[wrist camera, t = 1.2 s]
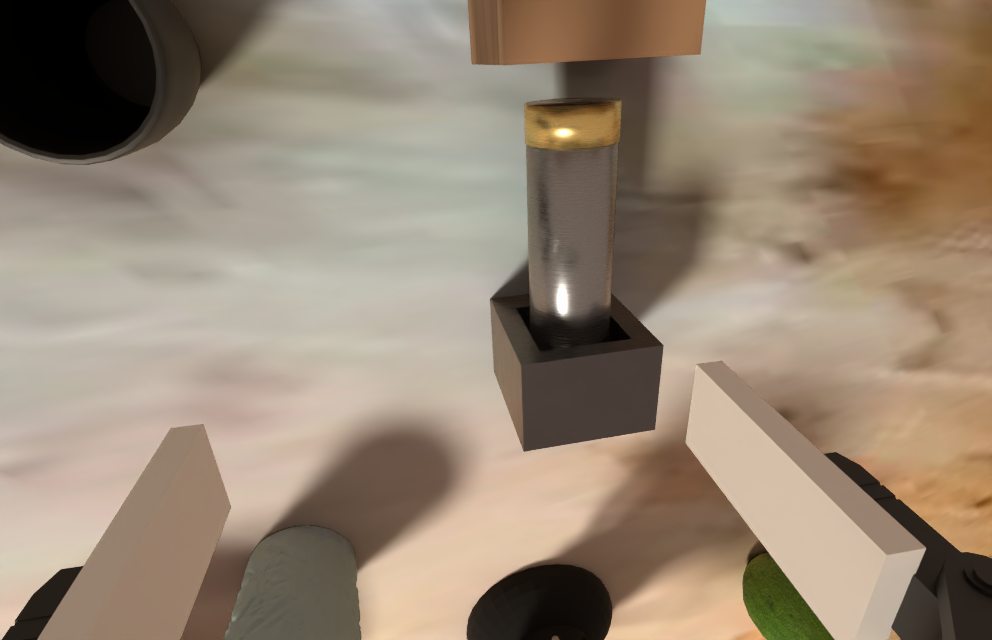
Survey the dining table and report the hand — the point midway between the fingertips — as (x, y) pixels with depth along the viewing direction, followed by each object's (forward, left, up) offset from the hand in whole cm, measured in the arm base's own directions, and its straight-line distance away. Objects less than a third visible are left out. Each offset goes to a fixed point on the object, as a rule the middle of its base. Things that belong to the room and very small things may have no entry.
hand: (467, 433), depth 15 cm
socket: (+9, +11, -23) cm, 27 cm away
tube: (+9, -3, -20) cm, 22 cm away
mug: (-12, +12, -23) cm, 28 cm away
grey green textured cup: (-12, -28, -23) cm, 38 cm away
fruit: (+32, -40, -23) cm, 56 cm away
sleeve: (+9, -9, -23) cm, 26 cm away
